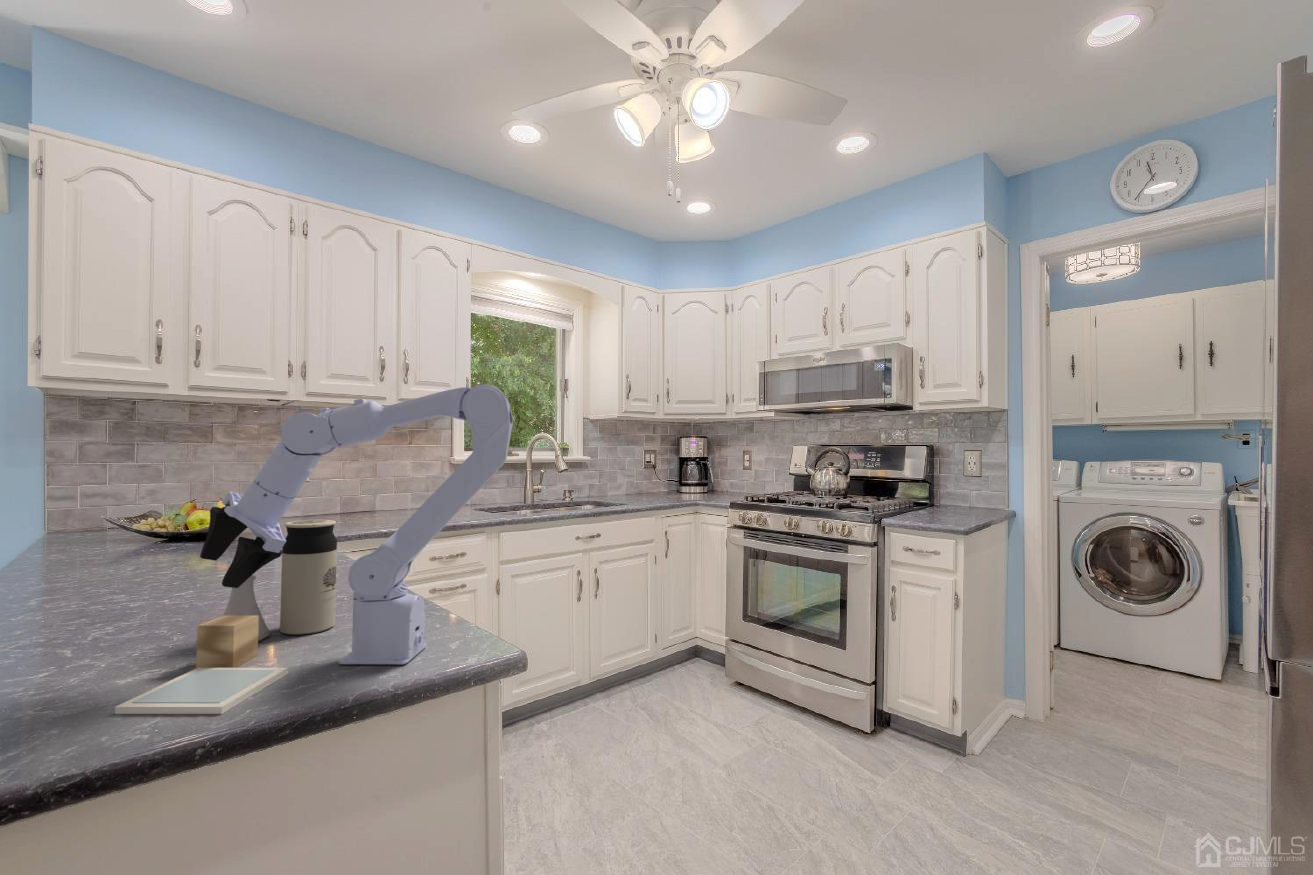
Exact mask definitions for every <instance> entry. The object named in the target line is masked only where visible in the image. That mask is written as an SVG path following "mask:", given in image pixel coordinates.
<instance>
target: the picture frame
mask: <svg viewBox="0 0 1313 875" xmlns="http://www.w3.org/2000/svg"><path fill="white" fill-rule="evenodd" d="M287 675H289V668H288V667H237V668H196V667H195V668H194V669H192V670H190V671H187V672H186V673H184V674H182V675H179V676H177V677H175V678H172V679H170V680H169V681H166V682H165V683H162V684H160V685H158V686H156V687H154V688H152V689H150V690H148V691H145V692H143V693H141V694H139V695H137V696H134V697H133V698H131V699H128V700H127V701H125V702H122V703H120V704H117V705H116V706H114V715H223V714H224V713H226V712H227V711H229V710H231V709H232V708H234V707H236V706H238V705H239V704H241V703H242V702H244V701H246V700H248V699H249V698H251V697H252V696H254V695H256V694H257V693H259V692H260V691H262V690H264V689H266V688H267V687H269V686H271V685H272V684H273V683H275V682H277V681H278V680H280V679H282V678H283V677H285V676H287Z"/></svg>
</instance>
